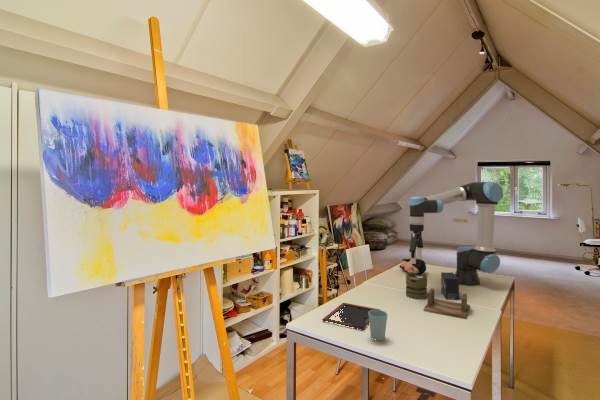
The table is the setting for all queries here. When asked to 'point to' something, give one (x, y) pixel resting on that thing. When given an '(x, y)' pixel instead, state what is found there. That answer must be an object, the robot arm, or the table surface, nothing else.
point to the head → (413, 266)
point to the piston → (416, 286)
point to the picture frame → (351, 315)
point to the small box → (450, 286)
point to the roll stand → (447, 306)
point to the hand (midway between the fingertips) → (416, 261)
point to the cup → (377, 324)
